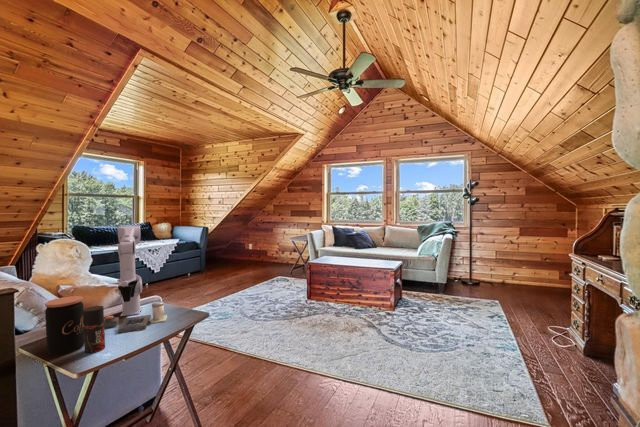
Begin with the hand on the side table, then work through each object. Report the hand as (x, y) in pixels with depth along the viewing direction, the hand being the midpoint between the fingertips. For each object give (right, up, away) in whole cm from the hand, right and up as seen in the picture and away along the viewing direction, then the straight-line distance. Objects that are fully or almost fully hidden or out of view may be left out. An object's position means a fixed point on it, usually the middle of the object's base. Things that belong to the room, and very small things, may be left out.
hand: (129, 299), depth 136 cm
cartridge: (+12, -10, +3) cm, 15 cm away
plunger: (-7, -10, -3) cm, 12 cm away
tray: (+12, -10, +3) cm, 16 cm away
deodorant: (+4, -11, -26) cm, 28 cm away
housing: (+5, -10, -3) cm, 12 cm away
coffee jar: (-7, -11, -25) cm, 28 cm away
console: (-7, -11, -3) cm, 13 cm away
